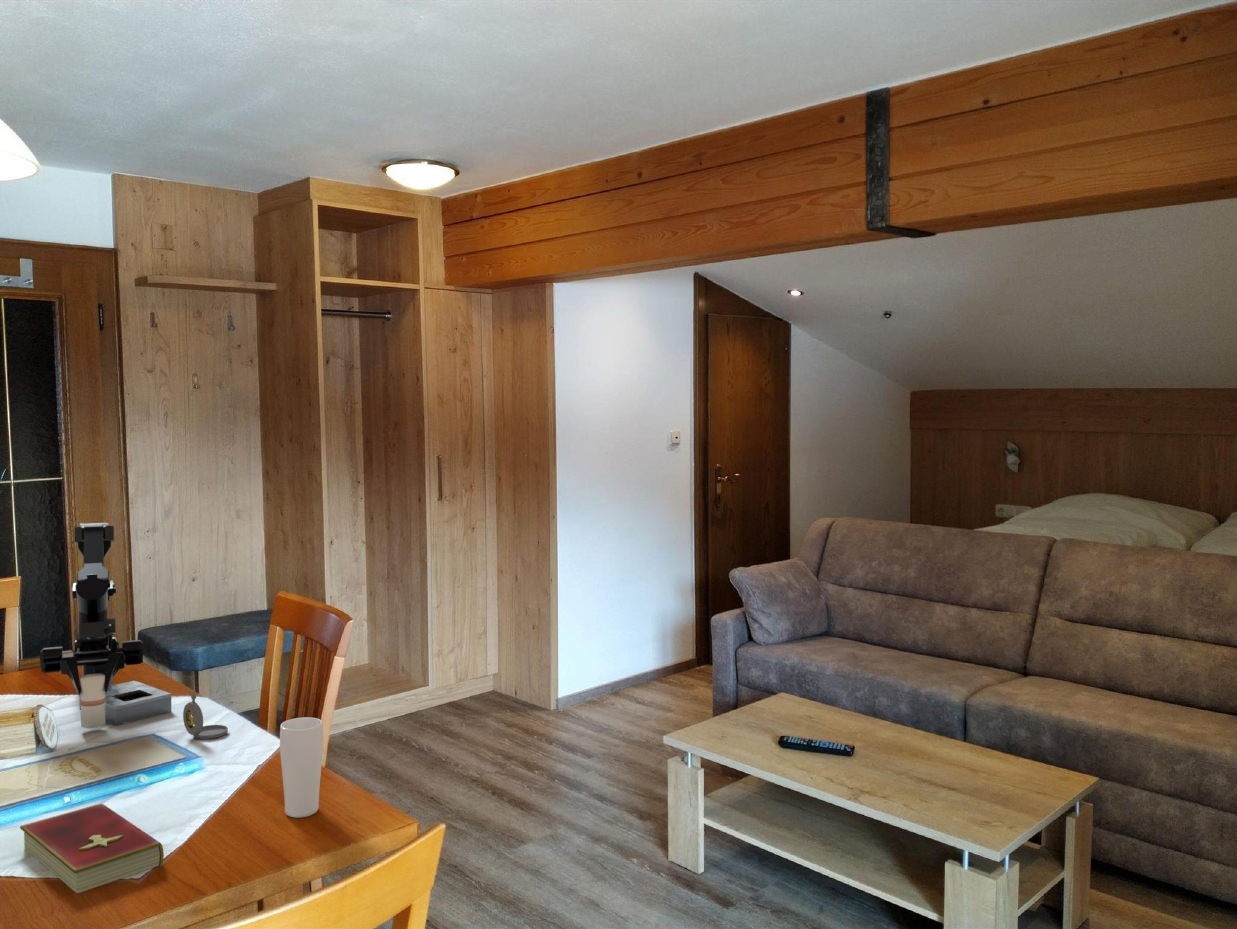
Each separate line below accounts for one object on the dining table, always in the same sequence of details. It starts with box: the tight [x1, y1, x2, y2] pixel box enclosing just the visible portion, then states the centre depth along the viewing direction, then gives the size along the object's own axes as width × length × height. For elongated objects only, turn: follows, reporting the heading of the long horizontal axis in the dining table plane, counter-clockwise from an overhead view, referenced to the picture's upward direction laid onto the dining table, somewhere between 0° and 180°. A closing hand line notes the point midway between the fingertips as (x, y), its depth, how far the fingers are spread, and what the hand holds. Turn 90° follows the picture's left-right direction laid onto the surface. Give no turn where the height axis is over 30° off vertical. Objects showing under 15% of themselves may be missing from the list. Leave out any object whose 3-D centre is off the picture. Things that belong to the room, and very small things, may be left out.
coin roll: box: [79, 674, 106, 729], centre depth 197 cm, size 4×4×10 cm
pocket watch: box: [182, 690, 229, 740], centre depth 196 cm, size 8×8×10 cm
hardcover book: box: [19, 802, 165, 894], centre depth 143 cm, size 12×21×4 cm, turn 49°
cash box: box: [79, 680, 172, 726], centre depth 211 cm, size 16×12×4 cm
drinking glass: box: [279, 716, 324, 819], centre depth 159 cm, size 7×7×15 cm
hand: (92, 692), depth 196 cm, fingers closed on coin roll, 4 cm apart
